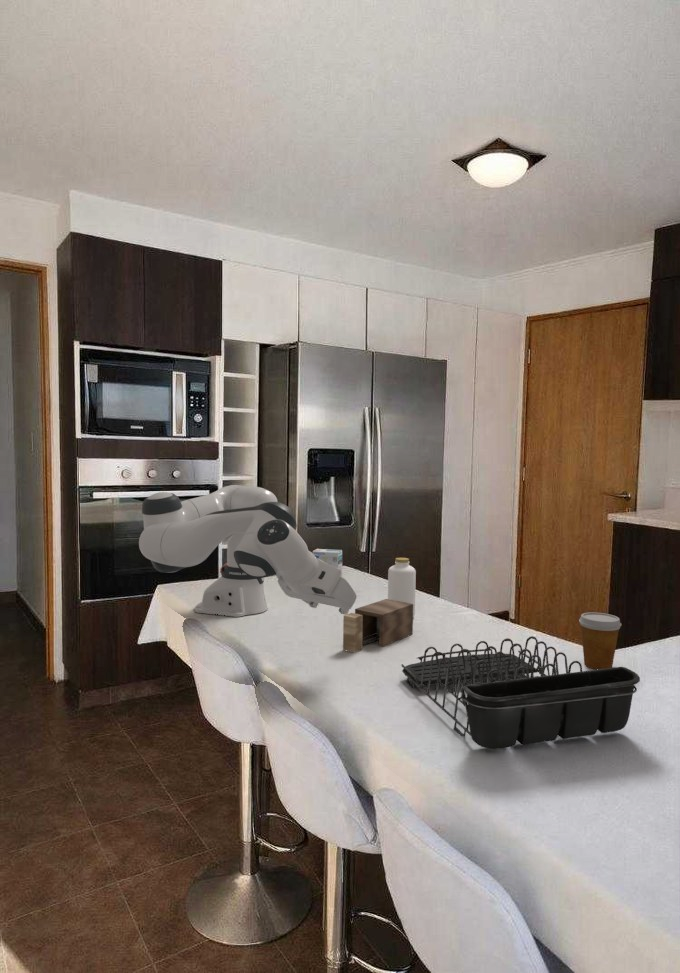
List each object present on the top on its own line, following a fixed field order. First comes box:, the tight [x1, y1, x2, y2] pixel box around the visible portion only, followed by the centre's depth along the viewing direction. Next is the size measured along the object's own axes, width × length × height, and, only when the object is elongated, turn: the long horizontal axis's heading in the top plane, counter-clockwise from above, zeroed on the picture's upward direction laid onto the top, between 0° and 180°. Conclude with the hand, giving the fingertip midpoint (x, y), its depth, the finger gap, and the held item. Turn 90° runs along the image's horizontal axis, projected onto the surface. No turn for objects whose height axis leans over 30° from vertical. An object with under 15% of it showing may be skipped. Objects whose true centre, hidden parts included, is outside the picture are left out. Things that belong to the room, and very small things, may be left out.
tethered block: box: [342, 612, 380, 653], centre depth 178 cm, size 21×5×9 cm, turn 142°
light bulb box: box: [312, 548, 343, 577], centre depth 261 cm, size 11×7×11 cm, turn 77°
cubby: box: [354, 598, 414, 648], centre depth 182 cm, size 15×9×8 cm, turn 142°
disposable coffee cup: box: [578, 612, 622, 670], centre depth 161 cm, size 10×10×12 cm
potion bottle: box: [387, 557, 417, 618], centre depth 203 cm, size 8×8×18 cm
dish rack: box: [401, 635, 641, 750], centre depth 137 cm, size 34×44×12 cm
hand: (330, 608), depth 162 cm, fingers open, 8 cm apart
